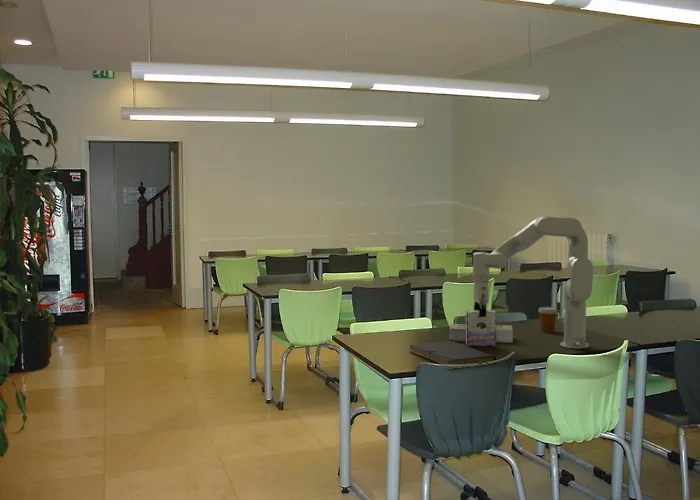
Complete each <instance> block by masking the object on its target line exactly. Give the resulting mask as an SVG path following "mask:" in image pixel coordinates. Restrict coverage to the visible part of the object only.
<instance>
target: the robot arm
mask: <svg viewBox="0 0 700 500" xmlns="http://www.w3.org/2000/svg"><path fill="white" fill-rule="evenodd" d="M587 235H588V234H587V232H586V230H585V229H584V227H583V225H582V223H581V221H580V220H578V219H577V218H576V217H575V218H574V217H555V216H547V215H540V216H538V217H536V218H535V219H534V220H532V221H531V222H530V223H529V224H527V225H526V226H525V227H523V228H522V229H521V230H520V231H518V232H517V233H515V234H514V235H513V236H511V237H510V238H509V239H507V240H506V241H505V242H503V243H502V244H500V245H499V246H498V247H497V248H495V249H494V250H493V251H492V252H490V253H488V252H485V251H476V252H474V253H473V256H472V258H473V259H472V260H473V261H472V282H473V284H474V285H473V301H474V302H473V310H479V317H486V310H487V304H488V303H489V301H490V299H489V283H490V269H498V270H500V269H503V268H505V267H506V266H507V264H508V260H509V259H511V258H512V257H513V256H515V255H516V254H517V253H518V254H519V253H521V252H523V251H526V250H527V249H530V248H531V247H532V246H533V245H534V244H536V242H538V241H539V240H540V239H542V238H544V237H545V236H549V237H550V236H551V237H565V238H566V239H567V241H568V242H567V243H568V251H567V253H568V254H567V262H566V269H567V271H568V272H569V273H570V279H568V280H567V281H566V282H565V283H564V285H563V301H564V306H563V307H564V309H563V312H564V313H563V314H564V315H563V341H561V342H560V345H559V346H561V347H563V348H567V349H572V348H573V350H575V349H576V350H583V348H584V349H588V348H589V347H590V344H589V343H588V342H586V335H587V333H586V329H587V328H586V324H587V323H586V322H587V303H586V302H587V300H589V299H590V297H591V295H592V290H593V282H594V281H593V279H594V266H593V262H592V260H591V259H589V258H588V257H589V255H588V254H589V239H588V236H587Z"/></svg>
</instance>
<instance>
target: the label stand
mask: <svg viewBox="0 0 700 500" xmlns="http://www.w3.org/2000/svg"><path fill="white" fill-rule="evenodd" d="M448 329H449V338H448V339H449V340H453V341H454V342H466V323H465V324H464V323H463V324H461V323H450V325H449V328H448ZM513 332H514V331H513V325H509V324H508V325H505V324H504V325H503V324H499V325H498V324H496V343H509V344H510V343H514V341H513V339H514V338H513V337H514V336H513V335H514V333H513ZM449 340H448V341H449Z"/></svg>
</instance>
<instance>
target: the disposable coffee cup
mask: <svg viewBox="0 0 700 500" xmlns="http://www.w3.org/2000/svg"><path fill="white" fill-rule="evenodd" d="M537 311H538V315H539V321H540V322H539V323H540V331H541V332H543V333H553V332H555V328H556V319H557V313H558V309H557V308H556V307H552V306H541V307H539V308H538V310H537Z"/></svg>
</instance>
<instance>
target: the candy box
mask: <svg viewBox="0 0 700 500" xmlns="http://www.w3.org/2000/svg"><path fill="white" fill-rule="evenodd" d="M465 324H466V341H465V346H472V347H474V346H483V348H485V347H497V342H496V325H497V311H496V310H492V309H491V310H487V309H486V317H479V310H474V309H473V310H465Z"/></svg>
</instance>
